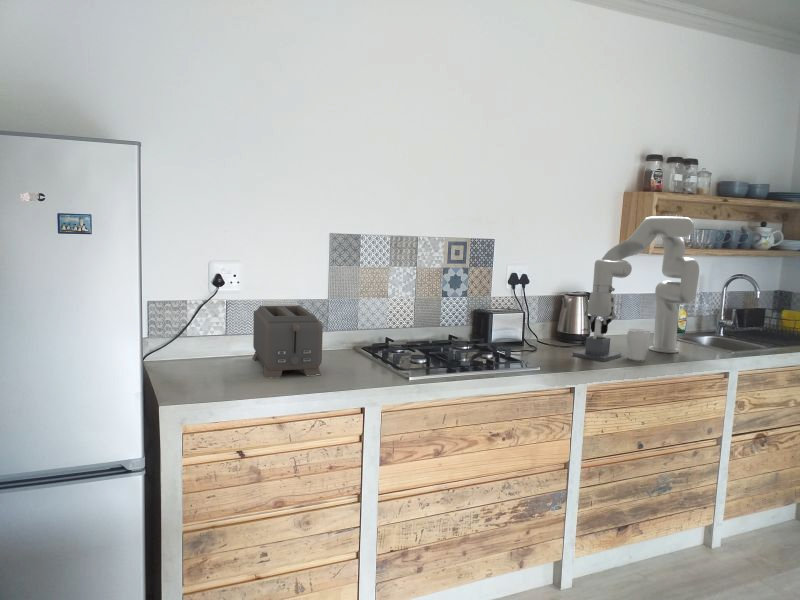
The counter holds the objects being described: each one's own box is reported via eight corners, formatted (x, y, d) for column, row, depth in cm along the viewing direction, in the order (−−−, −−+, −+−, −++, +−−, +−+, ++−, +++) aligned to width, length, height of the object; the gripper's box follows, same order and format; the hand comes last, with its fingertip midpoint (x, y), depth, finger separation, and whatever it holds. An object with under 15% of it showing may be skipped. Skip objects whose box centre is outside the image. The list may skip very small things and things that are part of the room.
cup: (649, 361, 268) (652, 333, 267) (626, 360, 270) (629, 331, 268) (645, 357, 277) (648, 329, 275) (623, 355, 279) (626, 328, 277)
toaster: (266, 381, 213) (267, 319, 210) (252, 358, 245) (252, 304, 243) (324, 378, 220) (325, 318, 217) (302, 356, 252) (304, 304, 250)
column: (594, 348, 278) (597, 318, 276) (604, 350, 275) (607, 320, 273) (590, 350, 275) (592, 319, 273) (599, 351, 272) (602, 321, 270)
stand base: (590, 351, 286) (592, 331, 285) (621, 356, 276) (622, 335, 275) (572, 355, 274) (574, 334, 273) (603, 361, 265) (605, 340, 264)
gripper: (625, 291, 269) (621, 334, 271) (587, 287, 280) (584, 329, 282) (617, 292, 263) (613, 336, 266) (579, 287, 275) (576, 330, 277)
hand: (598, 332), depth 274 cm, fingers closed on column, 4 cm apart
